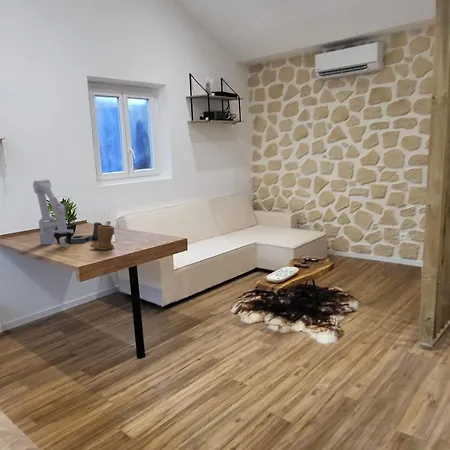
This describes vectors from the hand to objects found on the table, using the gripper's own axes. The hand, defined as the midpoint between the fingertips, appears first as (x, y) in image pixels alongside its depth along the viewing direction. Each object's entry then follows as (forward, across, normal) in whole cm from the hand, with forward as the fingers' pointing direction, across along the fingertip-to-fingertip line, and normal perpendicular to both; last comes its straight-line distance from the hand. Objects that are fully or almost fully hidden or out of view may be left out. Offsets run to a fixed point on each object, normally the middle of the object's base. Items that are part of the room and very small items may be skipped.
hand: (64, 243), depth 272 cm
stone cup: (+2, +33, -9) cm, 34 cm away
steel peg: (+2, 0, 0) cm, 2 cm away
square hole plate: (+2, 0, +14) cm, 14 cm away
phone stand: (+2, +16, +18) cm, 24 cm away
